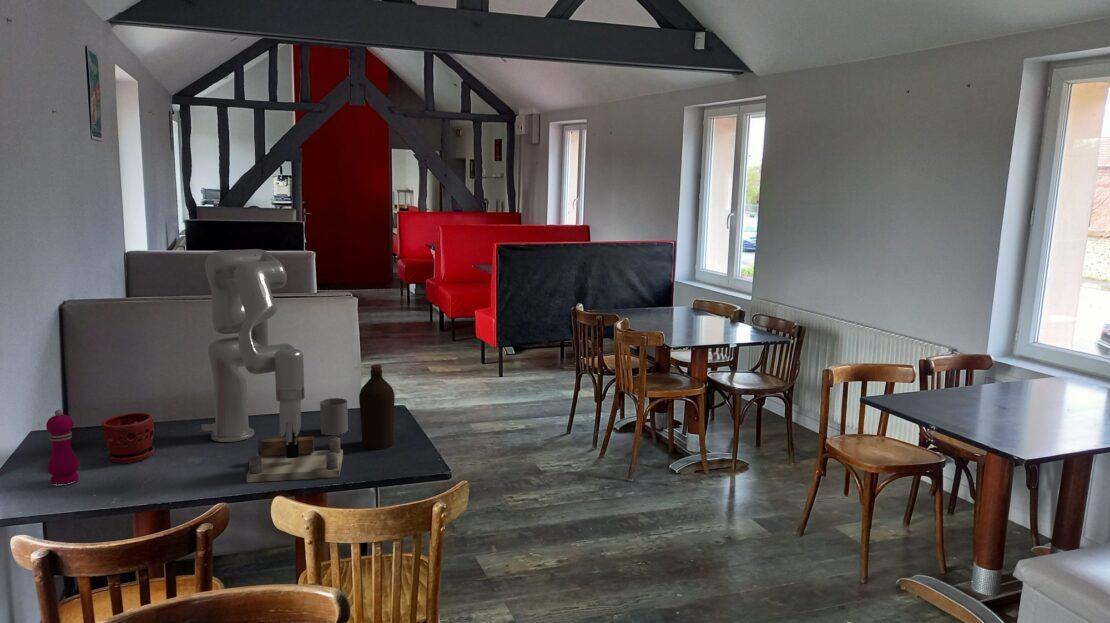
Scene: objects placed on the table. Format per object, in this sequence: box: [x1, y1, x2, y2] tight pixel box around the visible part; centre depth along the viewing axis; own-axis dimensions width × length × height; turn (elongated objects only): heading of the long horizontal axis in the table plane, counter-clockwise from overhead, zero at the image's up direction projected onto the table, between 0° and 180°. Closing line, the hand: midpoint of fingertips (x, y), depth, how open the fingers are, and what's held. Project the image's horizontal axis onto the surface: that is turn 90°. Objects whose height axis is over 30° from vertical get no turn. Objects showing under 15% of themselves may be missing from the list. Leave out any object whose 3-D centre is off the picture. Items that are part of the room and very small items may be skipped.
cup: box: [319, 397, 349, 436], centre depth 253 cm, size 8×8×10 cm
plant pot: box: [101, 412, 155, 464], centre depth 226 cm, size 13×13×12 cm
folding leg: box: [257, 435, 315, 456], centre depth 225 cm, size 15×3×4 cm, turn 102°
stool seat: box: [246, 436, 344, 483], centre depth 220 cm, size 24×17×6 cm
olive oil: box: [358, 364, 396, 450], centre depth 240 cm, size 11×11×25 cm
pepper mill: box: [46, 408, 80, 485], centre depth 206 cm, size 7×7×20 cm
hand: (292, 456), depth 219 cm, fingers closed
